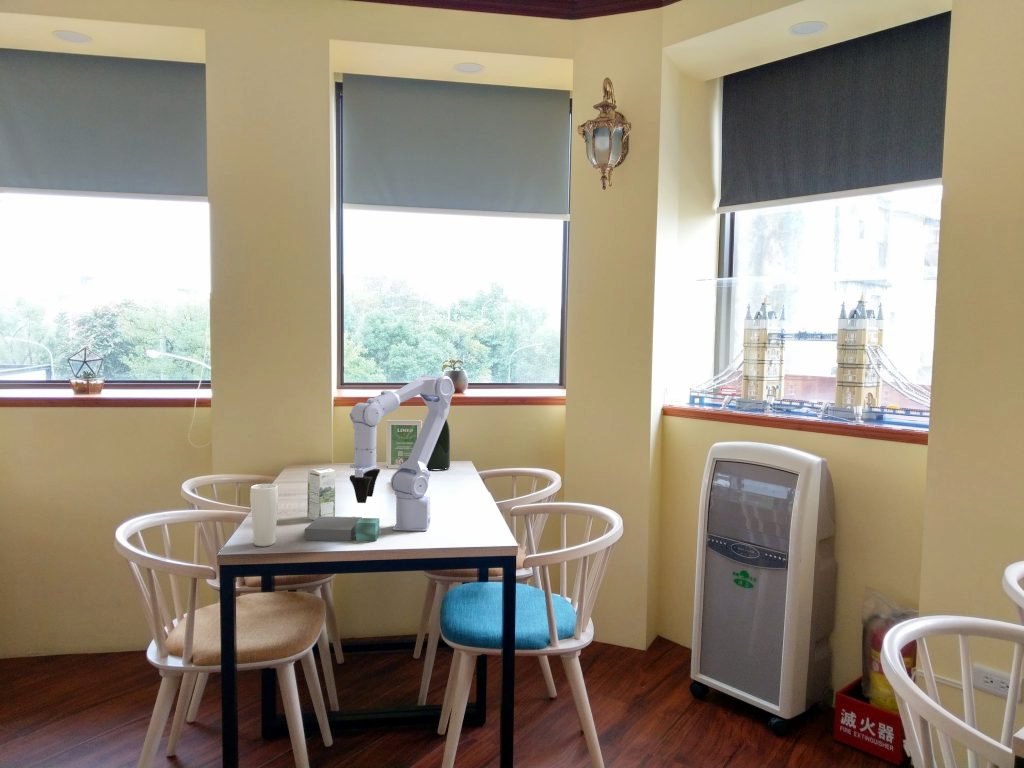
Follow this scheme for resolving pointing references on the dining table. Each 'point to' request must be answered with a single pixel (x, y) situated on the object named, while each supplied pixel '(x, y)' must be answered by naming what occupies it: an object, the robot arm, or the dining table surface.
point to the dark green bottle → (441, 450)
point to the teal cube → (367, 529)
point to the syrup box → (321, 493)
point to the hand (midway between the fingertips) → (364, 499)
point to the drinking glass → (264, 513)
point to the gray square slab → (332, 528)
